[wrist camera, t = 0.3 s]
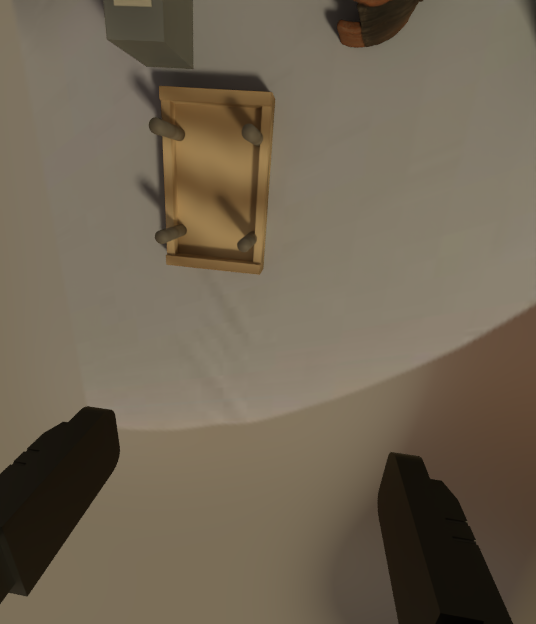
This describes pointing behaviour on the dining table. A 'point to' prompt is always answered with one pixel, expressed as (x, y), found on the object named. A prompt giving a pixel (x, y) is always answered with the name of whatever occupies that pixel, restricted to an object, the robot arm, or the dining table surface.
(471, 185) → the dining table surface
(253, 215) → the pin tray
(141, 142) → the dining table surface
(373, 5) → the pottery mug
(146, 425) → the dining table surface
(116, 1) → the block
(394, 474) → the robot arm
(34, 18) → the dining table surface
